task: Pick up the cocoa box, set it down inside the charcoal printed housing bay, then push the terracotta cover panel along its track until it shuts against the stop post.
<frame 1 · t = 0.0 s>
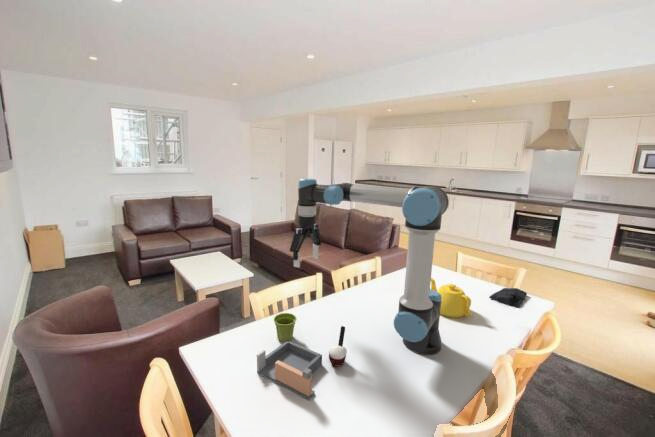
hand: (306, 262, 137), 28 cm above the table, fingers open, 13 cm apart
housing: (293, 366, 112), on the table
cover: (292, 374, 100), point 5 cm above the table, slide at 7.0 cm
plant pot: (285, 338, 129), on the table
teapot: (447, 309, 157), on the table
dark slate chunk: (509, 298, 173), on the table
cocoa: (337, 362, 115), on the table
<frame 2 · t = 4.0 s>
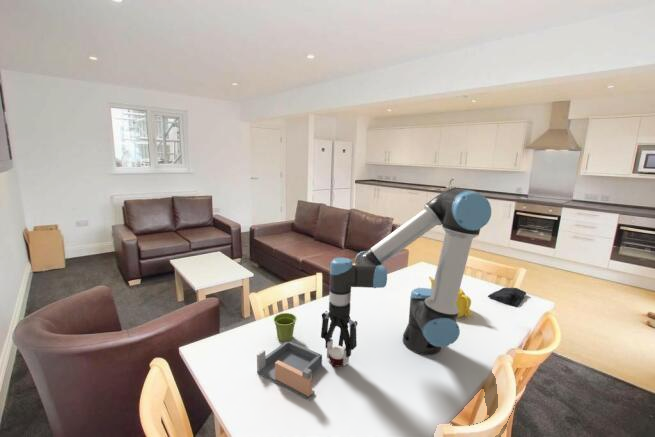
hand: (337, 360, 115), 1 cm above the table, fingers closed on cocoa, 6 cm apart
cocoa: (337, 362, 115), on the table, touching gripper
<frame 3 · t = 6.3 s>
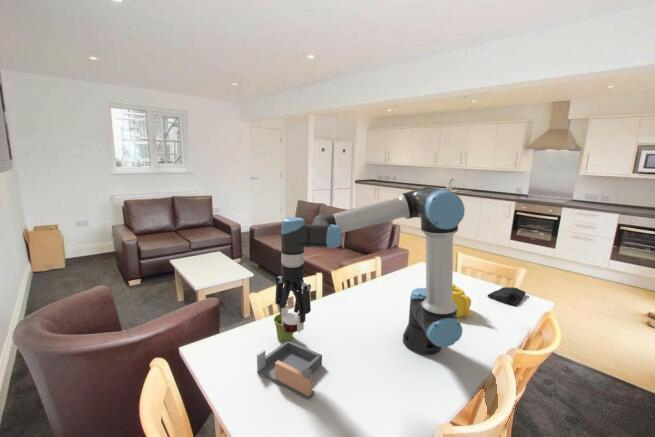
hand: (292, 327, 109), 16 cm above the table, fingers closed on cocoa, 6 cm apart
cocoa: (292, 330, 109), point 14 cm above the table, touching gripper
when the fingers open (4 cm above the table, at t = 8.6 s): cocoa drops 2 cm, resting on housing.
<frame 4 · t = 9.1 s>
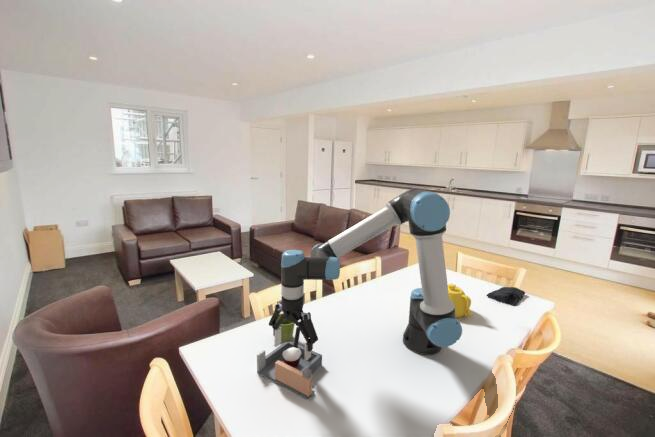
hand: (292, 351, 110), 6 cm above the table, fingers open, 13 cm apart
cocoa: (292, 364, 111), point 1 cm above the table, touching housing
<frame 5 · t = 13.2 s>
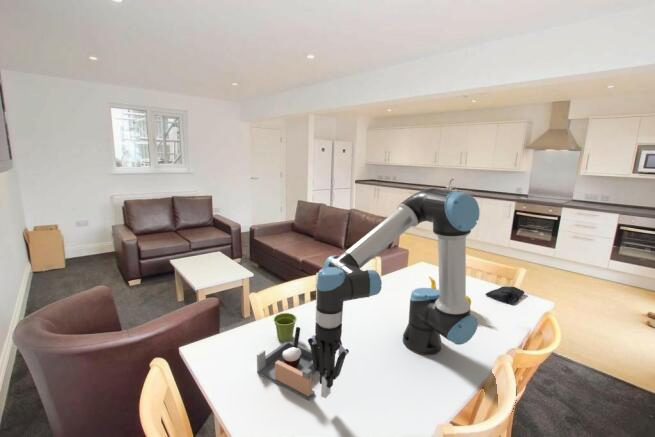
hand: (325, 394, 93), 5 cm above the table, fingers closed
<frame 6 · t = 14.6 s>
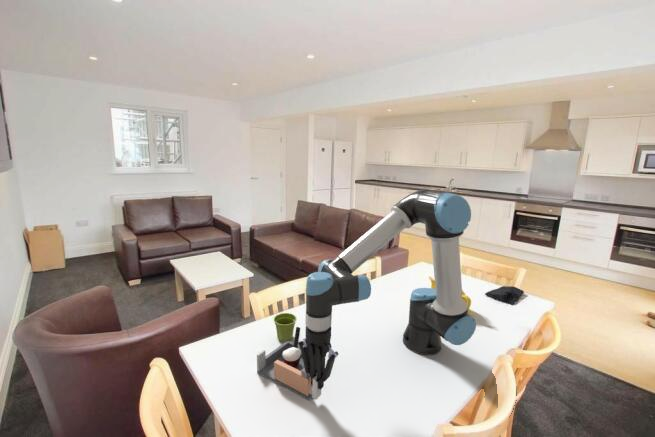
hand: (316, 395, 95), 2 cm above the table, fingers closed
cover: (291, 374, 100), point 5 cm above the table, slide at 6.6 cm, touching gripper
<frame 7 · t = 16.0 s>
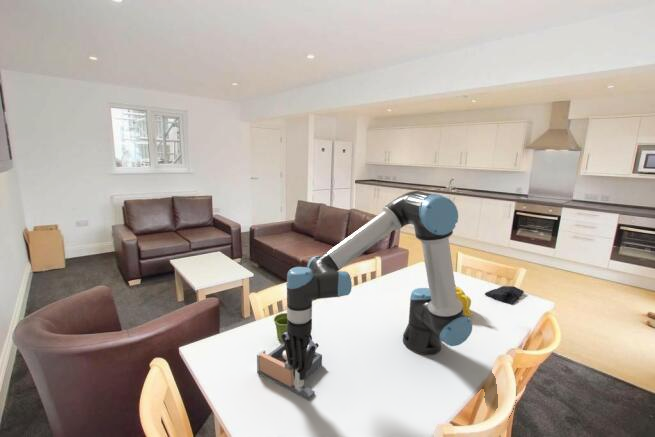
hand: (299, 386, 99), 2 cm above the table, fingers closed
cover: (276, 366, 104), point 5 cm above the table, slide at -0.1 cm, touching gripper
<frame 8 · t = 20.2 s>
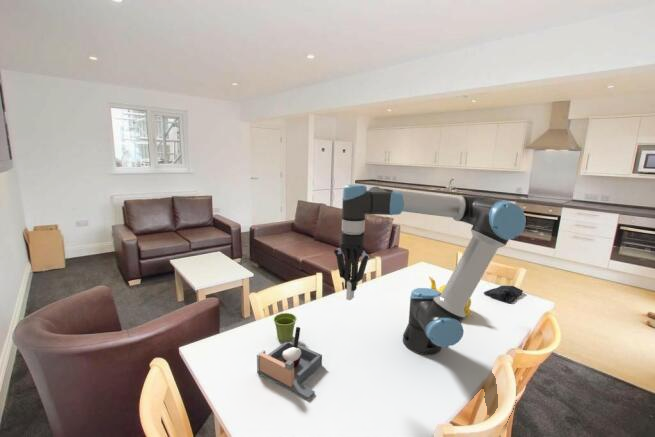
hand: (350, 298, 107), 26 cm above the table, fingers closed
cover: (276, 366, 104), point 5 cm above the table, slide at 0.0 cm
at the end: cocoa inside the target area on the housing (0.2 cm from its centre), point 0.8 cm above the housing's base; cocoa tilted 0°; cover slide at 0.0 cm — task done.
